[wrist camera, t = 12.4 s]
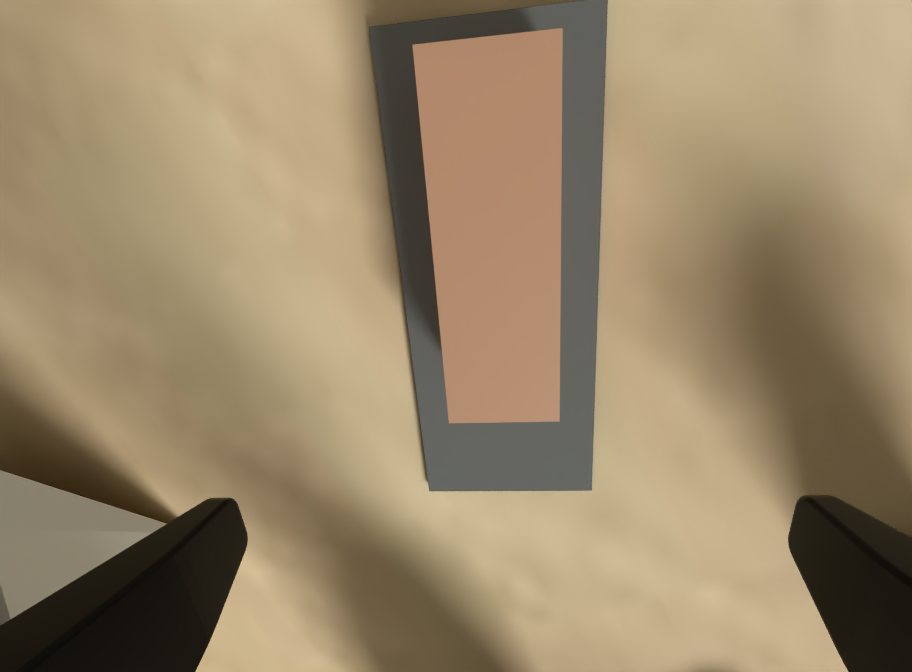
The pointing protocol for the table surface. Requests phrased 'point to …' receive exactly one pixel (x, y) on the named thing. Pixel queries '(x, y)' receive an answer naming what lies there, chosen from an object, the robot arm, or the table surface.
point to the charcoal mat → (583, 89)
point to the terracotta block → (495, 219)
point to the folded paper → (55, 539)
